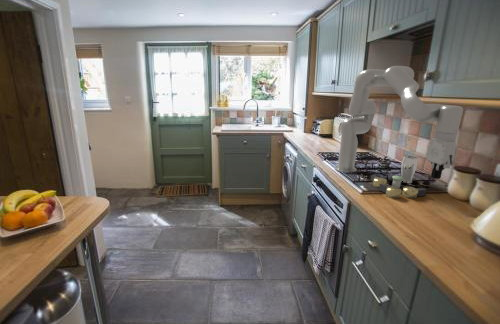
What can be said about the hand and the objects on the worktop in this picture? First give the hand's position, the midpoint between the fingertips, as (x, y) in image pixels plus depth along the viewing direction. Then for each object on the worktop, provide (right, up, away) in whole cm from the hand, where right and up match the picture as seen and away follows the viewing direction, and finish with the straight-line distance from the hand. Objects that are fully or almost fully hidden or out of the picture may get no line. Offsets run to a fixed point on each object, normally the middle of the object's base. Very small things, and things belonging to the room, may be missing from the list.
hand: (435, 178), depth 113 cm
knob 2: (-4, -9, +9) cm, 13 cm away
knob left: (-14, -5, +22) cm, 27 cm away
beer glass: (+4, -5, +28) cm, 29 cm away
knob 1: (-15, -8, +10) cm, 20 cm away
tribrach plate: (-10, -9, +15) cm, 20 cm away
